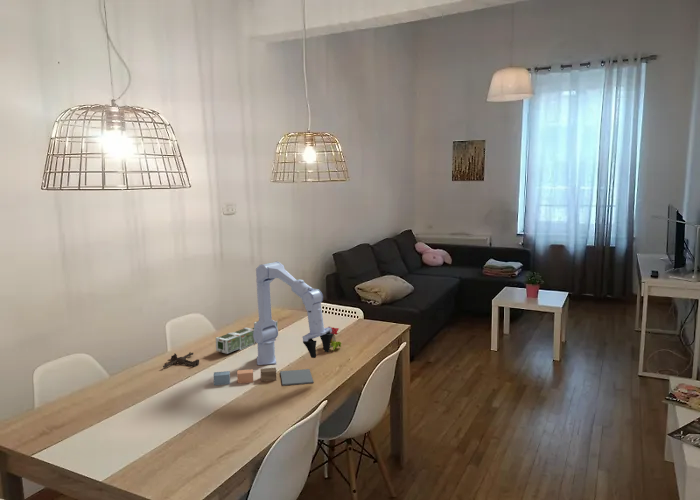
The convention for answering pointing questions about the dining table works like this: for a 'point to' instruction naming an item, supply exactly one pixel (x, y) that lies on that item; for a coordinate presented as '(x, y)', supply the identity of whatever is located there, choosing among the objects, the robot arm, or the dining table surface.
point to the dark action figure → (182, 361)
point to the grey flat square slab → (296, 377)
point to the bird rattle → (334, 339)
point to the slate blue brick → (221, 378)
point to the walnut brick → (268, 374)
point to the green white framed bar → (236, 340)
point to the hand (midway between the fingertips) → (320, 354)
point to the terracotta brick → (245, 376)
